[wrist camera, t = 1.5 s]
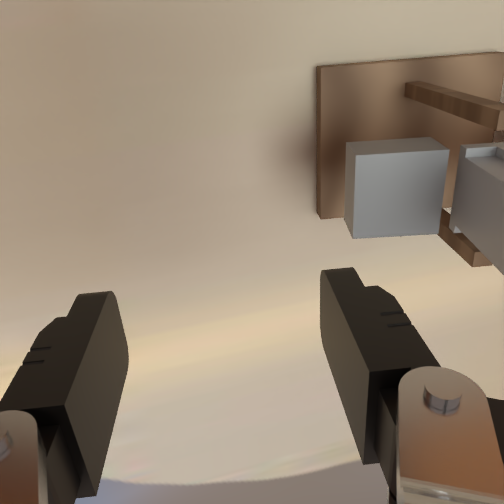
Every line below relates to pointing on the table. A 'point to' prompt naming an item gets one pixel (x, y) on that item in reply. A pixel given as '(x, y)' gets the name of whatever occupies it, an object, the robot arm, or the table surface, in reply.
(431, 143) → the grey angular piece
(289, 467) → the table surface
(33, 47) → the table surface
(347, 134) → the catapult stand
